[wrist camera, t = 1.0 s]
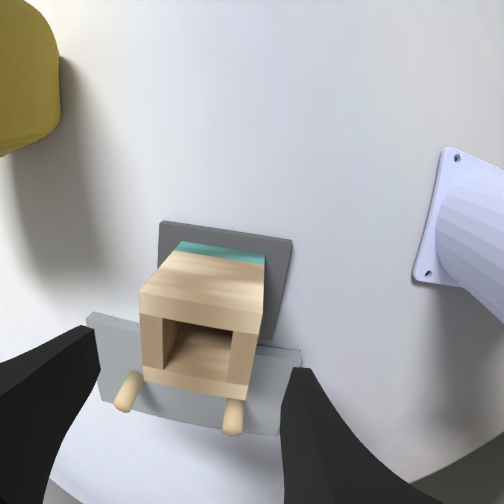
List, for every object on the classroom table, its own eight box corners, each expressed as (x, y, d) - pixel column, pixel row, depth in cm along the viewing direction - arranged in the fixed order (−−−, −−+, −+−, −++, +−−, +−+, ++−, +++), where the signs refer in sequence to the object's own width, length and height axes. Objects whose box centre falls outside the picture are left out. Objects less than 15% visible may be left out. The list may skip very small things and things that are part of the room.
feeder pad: (291, 240, 16) (292, 243, 16) (271, 333, 18) (272, 339, 18) (163, 220, 16) (159, 223, 16) (159, 314, 18) (156, 319, 18)
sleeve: (264, 254, 16) (262, 313, 10) (252, 325, 17) (245, 400, 12) (181, 241, 16) (139, 291, 10) (177, 312, 17) (143, 380, 12)
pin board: (300, 350, 19) (305, 394, 15) (275, 426, 21) (276, 466, 17) (92, 311, 19) (63, 343, 15) (106, 392, 21) (87, 425, 17)
